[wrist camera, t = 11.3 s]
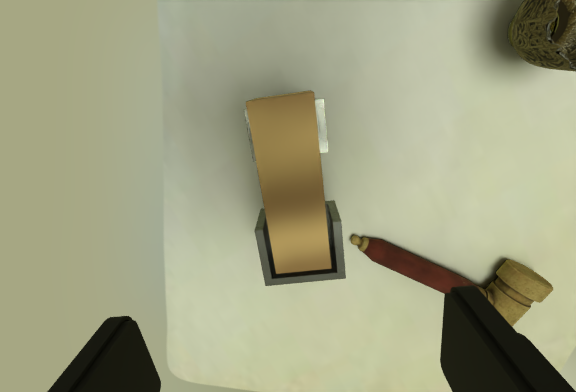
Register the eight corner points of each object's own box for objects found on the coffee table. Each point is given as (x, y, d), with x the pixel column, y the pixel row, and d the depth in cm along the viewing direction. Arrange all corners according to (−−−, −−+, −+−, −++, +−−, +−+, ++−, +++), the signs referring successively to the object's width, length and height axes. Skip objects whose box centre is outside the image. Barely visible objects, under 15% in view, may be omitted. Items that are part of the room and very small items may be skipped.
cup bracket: (266, 188, 31) (254, 230, 22) (328, 181, 30) (341, 221, 21) (274, 230, 32) (265, 286, 23) (332, 224, 32) (345, 278, 23)
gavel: (331, 285, 31) (379, 208, 28) (329, 262, 36) (370, 192, 32) (499, 360, 33) (565, 295, 29) (478, 329, 37) (533, 269, 34)
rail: (256, 98, 22) (245, 101, 17) (310, 90, 21) (314, 92, 17) (279, 239, 26) (276, 273, 21) (325, 234, 26) (331, 268, 21)
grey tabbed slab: (254, 104, 28) (244, 110, 22) (318, 95, 27) (323, 98, 22) (261, 146, 29) (253, 161, 23) (322, 138, 29) (328, 151, 23)
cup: (477, -6, 24) (558, -46, 17) (574, -39, 23) (706, -97, 16) (483, 87, 27) (557, 88, 19) (571, 60, 26) (684, 51, 18)
